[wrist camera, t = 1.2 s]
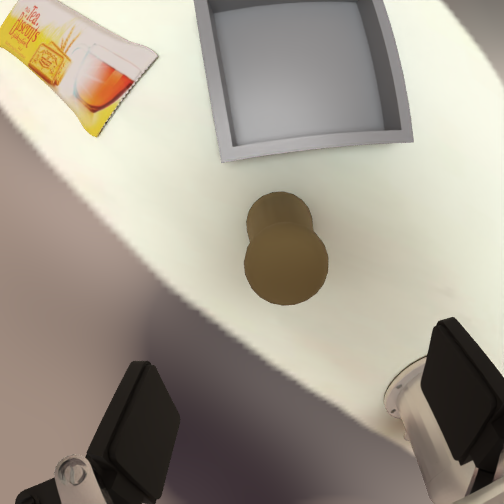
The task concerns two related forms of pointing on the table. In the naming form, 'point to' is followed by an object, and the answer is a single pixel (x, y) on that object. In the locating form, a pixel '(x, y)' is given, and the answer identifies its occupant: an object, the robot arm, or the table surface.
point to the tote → (301, 75)
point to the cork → (284, 250)
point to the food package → (75, 57)
